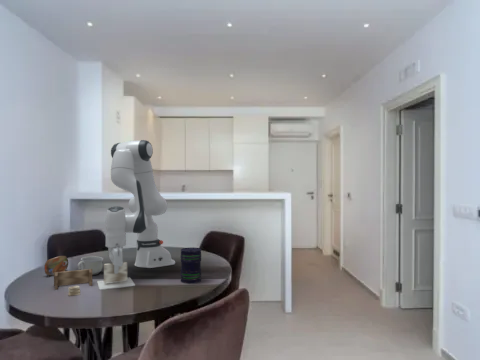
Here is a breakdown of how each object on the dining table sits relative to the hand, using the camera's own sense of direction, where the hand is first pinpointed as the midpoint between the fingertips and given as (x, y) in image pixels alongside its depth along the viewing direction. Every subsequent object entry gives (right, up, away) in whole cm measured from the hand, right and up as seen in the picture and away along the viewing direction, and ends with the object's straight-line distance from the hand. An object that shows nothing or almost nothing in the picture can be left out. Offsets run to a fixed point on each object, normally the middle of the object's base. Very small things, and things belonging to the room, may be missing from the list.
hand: (115, 272), depth 168 cm
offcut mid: (-12, -5, -15) cm, 20 cm away
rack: (-18, -5, -3) cm, 19 cm away
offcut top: (-12, -4, -15) cm, 20 cm away
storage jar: (+34, -6, +6) cm, 35 cm away
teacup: (-19, -6, +17) cm, 26 cm away
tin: (-37, -6, +18) cm, 41 cm away
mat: (0, -5, 0) cm, 5 cm away
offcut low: (-12, -6, -15) cm, 20 cm away
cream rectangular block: (0, -4, 0) cm, 4 cm away
